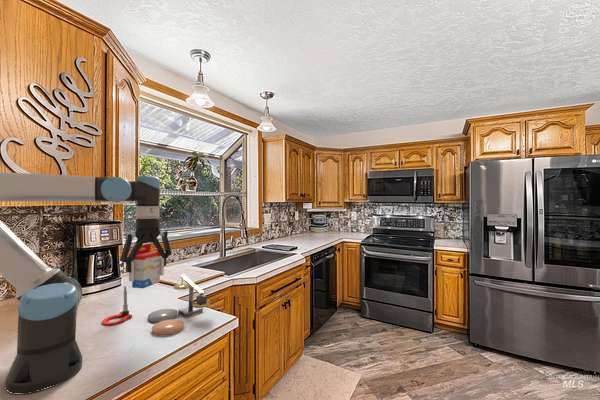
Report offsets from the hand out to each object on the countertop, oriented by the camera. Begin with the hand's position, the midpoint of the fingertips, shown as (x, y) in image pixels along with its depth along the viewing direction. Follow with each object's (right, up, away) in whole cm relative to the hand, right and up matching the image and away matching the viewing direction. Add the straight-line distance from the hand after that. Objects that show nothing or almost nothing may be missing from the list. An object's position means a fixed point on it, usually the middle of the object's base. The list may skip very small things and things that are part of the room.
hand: (146, 277), depth 98 cm
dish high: (0, -20, +12) cm, 24 cm away
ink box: (0, -3, 0) cm, 3 cm away
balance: (+9, -20, +17) cm, 28 cm away
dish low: (+7, -20, +2) cm, 21 cm away
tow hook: (-17, -20, +8) cm, 27 cm away
